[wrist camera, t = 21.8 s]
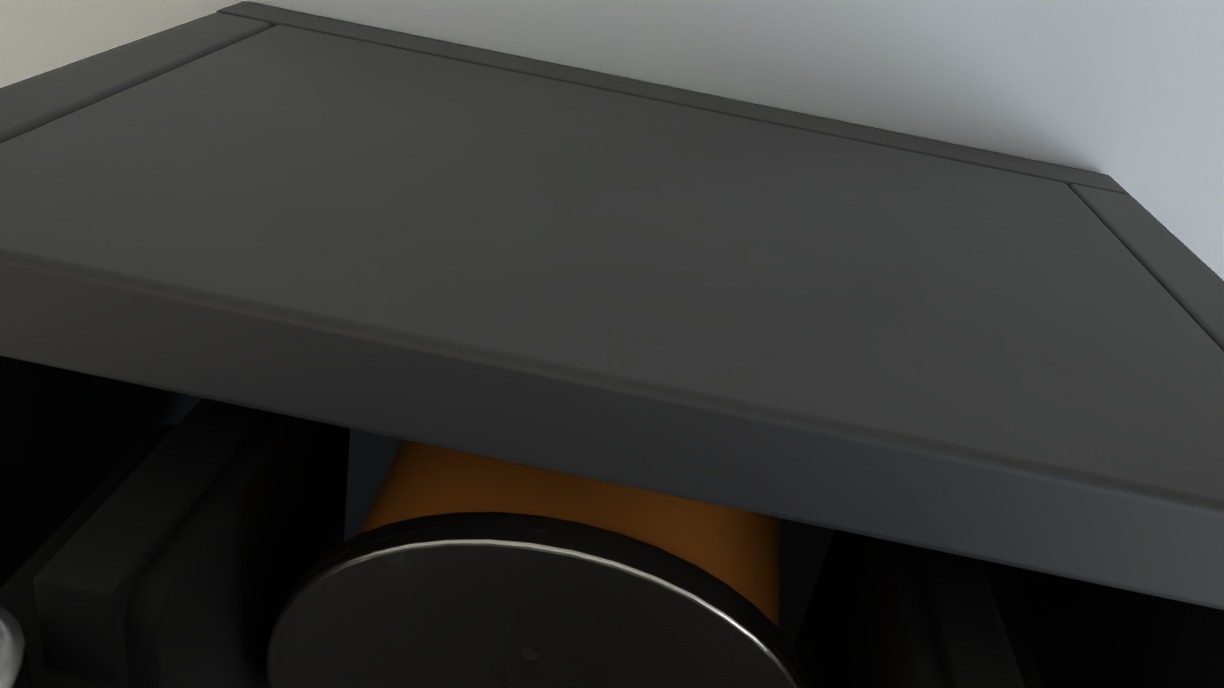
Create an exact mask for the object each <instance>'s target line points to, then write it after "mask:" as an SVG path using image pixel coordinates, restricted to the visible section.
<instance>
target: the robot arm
mask: <svg viewBox="0 0 1224 688" xmlns="http://www.w3.org/2000/svg"><path fill="white" fill-rule="evenodd" d="M349 441H350V428H345V427H340V426H336V425H331V424H326V423H321V422H316V421H312V420H307V419H302V418H297V417H292V416H288V415H283V414H278V413H273V412H268V411H264V410H259V409H254V408H249V407H244V406H239V405H235V404H230V403H225V402H220V401H215V400H211V399H206V398H202V399H201V400H200V401H199V402H198V403H197V404H196V405H195V406H194V407H193V408H192V409H191V410H190V411H189V413H188V414H187V415H186V416H185V417H184V418H183V419H182V420H181V421H180V422H179V423H178V424H177V425H171V424H169V425H164V426H160V427H159V428H157V429H156V430H155V431H153V432H152V433H151V434H150V435H149V436H148V437H147V438H146V439H145V440H144V441H143V442H142V443H141V444H140V445H139V446H138V447H137V448H136V449H135V450H134V451H133V452H132V453H131V454H130V455H129V456H128V457H127V458H126V459H125V460H124V461H123V462H122V463H121V464H120V466H119V467H118V468H117V469H116V470H115V471H114V472H113V473H112V474H111V475H110V476H109V477H108V478H107V479H106V480H105V481H104V482H103V483H102V484H101V485H100V486H99V487H98V488H97V489H96V490H95V491H94V492H93V493H92V494H91V495H90V497H89V498H88V499H87V500H86V501H85V502H84V503H83V504H82V505H81V506H80V507H79V508H78V509H77V510H76V511H75V512H74V513H73V514H72V515H71V516H70V517H69V518H68V519H67V520H66V521H65V522H64V523H63V524H62V525H61V526H60V528H59V529H58V530H57V531H56V532H55V533H54V534H53V535H52V536H51V537H50V538H49V539H48V540H47V541H46V542H45V543H44V544H43V545H42V546H41V547H40V548H39V549H38V550H37V551H36V552H35V553H34V554H33V555H32V556H31V557H30V559H29V560H28V561H27V562H26V563H25V564H24V565H23V566H22V567H21V568H20V569H19V570H18V571H17V572H16V573H15V574H14V575H13V576H12V577H11V578H10V579H9V580H8V581H7V582H6V583H5V584H4V585H3V586H2V587H1V589H0V688H270V684H269V679H268V674H267V646H268V642H269V638H270V634H271V630H272V627H273V625H274V623H275V621H276V619H277V617H278V615H279V613H280V611H281V609H282V607H283V605H284V603H285V601H286V599H287V597H288V595H289V593H290V591H291V590H292V588H293V586H294V584H295V583H296V582H297V581H298V579H299V578H300V577H301V576H302V575H303V574H304V572H305V571H306V570H307V569H308V568H309V567H310V566H311V565H312V564H313V563H315V562H316V561H317V560H318V559H320V558H321V557H322V556H324V555H325V554H326V553H327V552H329V551H330V550H331V549H332V548H334V547H336V546H338V545H340V544H342V543H344V533H345V515H346V496H347V478H348V460H349ZM793 649H794V650H795V651H796V653H797V655H798V657H799V659H800V661H801V663H802V665H803V666H804V668H805V670H806V672H807V674H808V676H809V678H810V682H811V685H812V688H1044V685H1043V682H1042V679H1041V677H1040V674H1039V671H1038V668H1037V666H1036V663H1035V660H1034V657H1033V654H1032V652H1031V649H1030V646H1029V643H1028V641H1027V638H1026V635H1025V632H1024V630H1023V627H1022V624H1021V621H1020V619H1019V616H1018V614H1017V612H1016V610H1015V608H1014V607H1013V605H1012V604H1011V603H1010V602H1009V601H1007V600H1006V599H1004V598H1000V597H995V596H994V595H993V592H992V589H991V586H990V583H989V580H988V577H987V574H986V571H985V568H984V565H983V562H982V560H980V559H975V558H970V557H965V556H960V555H956V554H951V553H946V552H941V551H936V550H932V549H927V548H922V547H917V546H912V545H908V544H903V543H898V542H893V541H888V540H884V539H879V538H874V537H869V536H864V535H860V534H855V533H850V532H845V531H840V530H835V531H834V534H833V537H832V540H831V543H830V545H829V548H828V551H827V554H826V557H825V559H824V562H823V565H822V568H821V571H820V573H819V576H818V579H817V582H816V585H815V587H814V590H813V593H812V596H811V599H810V602H809V604H808V607H807V610H806V613H805V616H804V618H803V621H802V624H801V627H800V630H799V632H798V635H797V638H796V641H795V644H794V647H793Z"/></svg>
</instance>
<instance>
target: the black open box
mask: <svg viewBox="0 0 1224 688" xmlns="http://www.w3.org/2000/svg"><path fill="white" fill-rule="evenodd" d="M202 398H206V399H211V400H215V401H220V402H225V403H230V404H235V405H239V406H244V407H249V408H254V409H259V410H264V411H268V412H273V413H278V414H283V415H288V416H292V417H297V418H302V419H307V420H312V421H316V422H321V423H326V424H331V425H336V426H340V427H345V428H350V441H349V460H348V478H347V496H346V515H345V533H344V542H345V541H347V540H349V539H351V538H353V537H355V536H356V535H358V534H359V532H360V530H361V528H362V525H363V523H364V521H365V519H366V517H367V515H368V512H369V510H370V508H371V506H372V504H373V501H374V499H375V497H376V495H377V493H378V490H379V488H380V486H381V484H382V482H383V480H384V477H385V475H386V473H387V471H388V469H389V466H390V464H391V462H392V460H393V458H394V455H395V453H396V451H397V449H398V447H399V444H400V442H401V440H402V439H403V440H408V441H413V442H417V443H422V444H427V445H432V446H437V447H441V448H446V449H451V450H456V451H461V452H465V453H470V454H475V455H480V456H485V457H489V458H494V459H499V460H504V461H509V462H513V463H518V464H523V465H528V466H533V467H537V468H542V469H547V470H552V471H557V472H562V473H566V474H571V475H576V476H581V477H586V478H590V479H595V480H600V481H605V482H610V483H614V484H619V485H624V486H629V487H634V488H638V489H643V490H648V491H653V492H658V493H662V494H667V495H672V496H677V497H682V498H686V499H691V500H696V501H701V502H706V503H711V504H715V505H720V506H725V507H730V508H735V509H739V510H744V511H749V512H754V513H759V514H763V515H768V516H773V517H778V518H780V574H779V630H780V631H781V633H782V634H783V635H784V637H785V638H786V639H787V641H788V642H789V643H790V645H791V646H792V647H794V644H795V641H796V638H797V635H798V632H799V630H800V627H801V624H802V621H803V618H804V616H805V613H806V610H807V607H808V604H809V602H810V599H811V596H812V593H813V590H814V587H815V585H816V582H817V579H818V576H819V573H820V571H821V568H822V565H823V562H824V559H825V557H826V554H827V551H828V548H829V545H830V543H831V540H832V537H833V534H834V531H835V530H840V531H845V532H850V533H855V534H860V535H864V536H869V537H874V538H879V539H884V540H888V541H893V542H898V543H903V544H908V545H912V546H917V547H922V548H927V549H932V550H936V551H941V552H946V553H951V554H956V555H960V556H965V557H970V558H975V559H980V560H982V562H983V565H984V568H985V571H986V574H987V577H988V580H989V583H990V586H991V589H992V592H993V595H994V596H995V597H1000V598H1004V599H1006V600H1007V601H1009V602H1010V603H1011V604H1012V605H1013V607H1014V608H1015V610H1016V612H1017V614H1018V616H1019V619H1020V621H1021V624H1022V627H1023V630H1024V632H1025V635H1026V638H1027V641H1028V643H1029V646H1030V649H1031V652H1032V654H1033V657H1034V660H1035V663H1036V666H1037V668H1038V671H1039V674H1040V677H1041V679H1042V682H1043V685H1044V688H1224V281H1223V280H1222V279H1221V278H1220V277H1219V276H1218V275H1217V274H1216V273H1215V272H1213V271H1212V270H1211V269H1210V268H1209V267H1208V266H1207V265H1206V264H1205V263H1204V262H1203V261H1201V260H1200V259H1199V258H1198V257H1197V256H1196V255H1195V254H1194V253H1193V252H1192V251H1191V250H1189V249H1188V248H1187V247H1186V246H1185V245H1184V244H1183V243H1182V242H1181V241H1180V240H1179V239H1178V238H1176V237H1175V236H1174V235H1173V234H1172V233H1171V232H1170V231H1169V230H1168V229H1167V228H1166V227H1164V226H1163V225H1162V224H1161V223H1160V222H1159V221H1158V220H1157V219H1156V218H1155V217H1154V216H1153V215H1151V214H1150V213H1149V212H1148V211H1147V210H1146V209H1145V208H1144V207H1143V206H1142V205H1141V204H1139V203H1138V202H1137V201H1136V200H1135V199H1134V198H1133V197H1132V196H1130V194H1129V193H1128V192H1126V191H1125V190H1124V189H1123V188H1122V187H1121V186H1120V185H1119V184H1118V183H1117V182H1116V181H1114V180H1113V179H1112V178H1111V177H1110V176H1109V175H1105V174H1100V173H1095V172H1090V171H1085V170H1080V169H1075V168H1070V167H1065V166H1060V165H1055V164H1050V163H1045V162H1040V161H1035V160H1030V159H1025V158H1020V157H1015V156H1010V155H1005V154H1000V153H995V152H990V151H985V150H981V149H976V148H971V147H966V146H961V145H956V144H951V143H946V142H941V141H936V140H931V139H926V138H921V137H916V136H911V135H906V134H901V133H896V132H891V131H886V130H881V129H876V128H871V127H866V126H861V125H856V124H851V123H846V122H841V121H836V120H831V119H826V118H821V117H817V116H812V115H807V114H802V113H797V112H792V111H787V110H782V109H777V108H772V107H767V106H762V105H757V104H752V103H747V102H742V101H737V100H732V99H727V98H722V97H717V96H712V95H707V94H702V93H697V92H692V91H687V90H682V89H677V88H672V87H667V86H662V85H658V84H653V83H648V82H643V81H638V80H633V79H628V78H623V77H618V76H613V75H608V74H603V73H598V72H593V71H588V70H583V69H578V68H573V67H568V66H563V65H558V64H553V63H548V62H543V61H538V60H533V59H528V58H523V57H518V56H513V55H508V54H503V53H498V52H494V51H489V50H484V49H479V48H474V47H469V46H464V45H459V44H454V43H449V42H444V41H439V40H434V39H429V38H424V37H419V36H414V35H409V34H404V33H399V32H394V31H389V30H384V29H379V28H374V27H369V26H364V25H359V24H354V23H349V22H344V21H339V20H335V19H330V18H325V17H320V16H315V15H310V14H305V13H300V12H295V11H290V10H285V9H280V8H275V7H270V6H265V5H260V4H255V3H250V2H245V1H244V2H240V3H238V4H235V5H232V6H229V7H226V8H223V9H220V10H217V12H216V13H214V14H211V15H208V16H205V17H202V18H199V19H196V20H193V21H191V22H188V23H185V24H182V25H179V26H176V27H174V28H171V29H168V30H165V31H162V32H159V33H156V34H154V35H151V36H148V37H145V38H142V39H139V40H137V41H134V42H131V43H128V44H125V45H122V46H119V47H117V48H114V49H111V50H108V51H105V52H102V53H100V54H97V55H94V56H91V57H88V58H85V59H83V60H80V61H77V62H74V63H71V64H68V65H65V66H63V67H60V68H57V69H54V70H51V71H48V72H46V73H43V74H40V75H37V76H34V77H31V78H28V79H26V80H23V81H20V82H17V83H14V84H11V85H9V86H6V87H3V88H0V589H1V587H2V586H3V585H4V584H5V583H6V582H7V581H8V580H9V579H10V578H11V577H12V576H13V575H14V574H15V573H16V572H17V571H18V570H19V569H20V568H21V567H22V566H23V565H24V564H25V563H26V562H27V561H28V560H29V559H30V557H31V556H32V555H33V554H34V553H35V552H36V551H37V550H38V549H39V548H40V547H41V546H42V545H43V544H44V543H45V542H46V541H47V540H48V539H49V538H50V537H51V536H52V535H53V534H54V533H55V532H56V531H57V530H58V529H59V528H60V526H61V525H62V524H63V523H64V522H65V521H66V520H67V519H68V518H69V517H70V516H71V515H72V514H73V513H74V512H75V511H76V510H77V509H78V508H79V507H80V506H81V505H82V504H83V503H84V502H85V501H86V500H87V499H88V498H89V497H90V495H91V494H92V493H93V492H94V491H95V490H96V489H97V488H98V487H99V486H100V485H101V484H102V483H103V482H104V481H105V480H106V479H107V478H108V477H109V476H110V475H111V474H112V473H113V472H114V471H115V470H116V469H117V468H118V467H119V466H120V464H121V463H122V462H123V461H124V460H125V459H126V458H127V457H128V456H129V455H130V454H131V453H132V452H133V451H134V450H135V449H136V448H137V447H138V446H139V445H140V444H141V443H142V442H143V441H144V440H145V439H146V438H147V437H148V436H149V435H150V434H151V433H152V432H153V431H155V430H156V429H157V428H159V427H160V426H164V425H169V424H171V425H177V424H178V423H179V422H180V421H181V420H182V419H183V418H184V417H185V416H186V415H187V414H188V413H189V411H190V410H191V409H192V408H193V407H194V406H195V405H196V404H197V403H198V402H199V401H200V400H201V399H202Z"/></svg>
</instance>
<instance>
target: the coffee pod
mask: <svg viewBox="0 0 1224 688" xmlns="http://www.w3.org/2000/svg"><path fill="white" fill-rule="evenodd" d="M779 574H780V518H778V517H773V516H768V515H763V514H759V513H754V512H749V511H744V510H739V509H735V508H730V507H725V506H720V505H715V504H711V503H706V502H701V501H696V500H691V499H686V498H682V497H677V496H672V495H667V494H662V493H658V492H653V491H648V490H643V489H638V488H634V487H629V486H624V485H619V484H614V483H610V482H605V481H600V480H595V479H590V478H586V477H581V476H576V475H571V474H566V473H562V472H557V471H552V470H547V469H542V468H537V467H533V466H528V465H523V464H518V463H513V462H509V461H504V460H499V459H494V458H489V457H485V456H480V455H475V454H470V453H465V452H461V451H456V450H451V449H446V448H441V447H437V446H432V445H427V444H422V443H417V442H413V441H408V440H403V439H402V440H401V442H400V444H399V447H398V449H397V451H396V453H395V455H394V458H393V460H392V462H391V464H390V466H389V469H388V471H387V473H386V475H385V477H384V480H383V482H382V484H381V486H380V488H379V490H378V493H377V495H376V497H375V499H374V501H373V504H372V506H371V508H370V510H369V512H368V515H367V517H366V519H365V521H364V523H363V525H362V528H361V530H360V532H359V534H358V535H356V536H355V537H353V538H351V539H349V540H347V541H345V542H344V543H342V544H340V545H338V546H336V547H334V548H332V549H331V550H330V551H329V552H327V553H326V554H325V555H324V556H322V557H321V558H320V559H318V560H317V561H316V562H315V563H313V564H312V565H311V566H310V567H309V568H308V569H307V570H306V571H305V572H304V574H303V575H302V576H301V577H300V578H299V579H298V581H297V582H296V583H295V584H294V586H293V588H292V590H291V591H290V593H289V595H288V597H287V599H286V601H285V603H284V605H283V607H282V609H281V611H280V613H279V615H278V617H277V619H276V621H275V623H274V625H273V627H272V630H271V634H270V638H269V642H268V646H267V674H268V679H269V684H270V688H812V685H811V682H810V678H809V676H808V674H807V672H806V670H805V668H804V666H803V665H802V663H801V661H800V659H799V657H798V655H797V653H796V651H795V650H794V649H793V647H792V646H791V645H790V643H789V642H788V641H787V639H786V638H785V637H784V635H783V634H782V633H781V631H780V630H779Z"/></svg>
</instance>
